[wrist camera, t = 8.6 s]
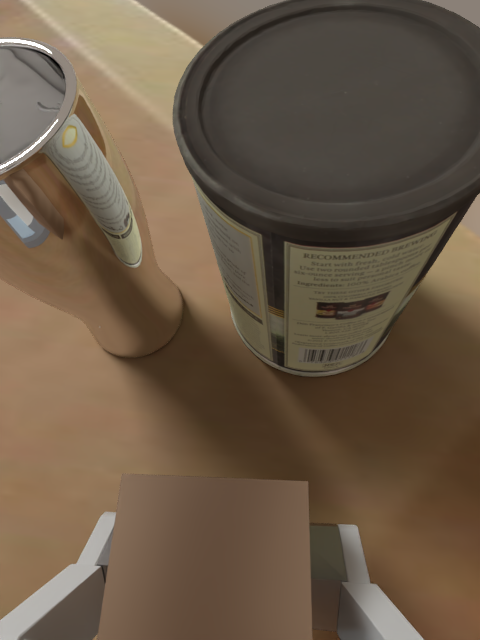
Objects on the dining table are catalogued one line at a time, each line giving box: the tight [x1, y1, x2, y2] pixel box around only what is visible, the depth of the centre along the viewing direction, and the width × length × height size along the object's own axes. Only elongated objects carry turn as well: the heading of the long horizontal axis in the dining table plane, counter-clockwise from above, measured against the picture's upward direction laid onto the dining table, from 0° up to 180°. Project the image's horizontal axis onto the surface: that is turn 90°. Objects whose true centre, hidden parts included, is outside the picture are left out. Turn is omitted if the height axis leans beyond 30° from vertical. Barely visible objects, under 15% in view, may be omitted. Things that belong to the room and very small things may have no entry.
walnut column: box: [97, 474, 312, 640], centre depth 11 cm, size 4×4×8 cm
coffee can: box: [173, 0, 480, 377], centre depth 18 cm, size 10×10×14 cm
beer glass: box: [0, 37, 183, 358], centre depth 19 cm, size 7×7×15 cm
